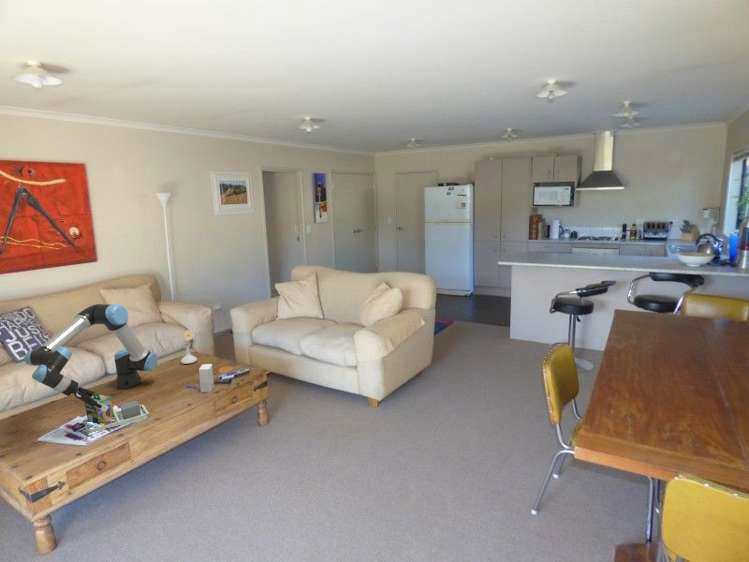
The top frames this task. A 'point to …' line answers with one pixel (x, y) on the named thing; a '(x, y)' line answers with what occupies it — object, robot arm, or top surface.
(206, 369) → the skincare box
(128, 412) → the grey block
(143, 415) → the caddy
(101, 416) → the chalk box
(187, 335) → the flower in vase
